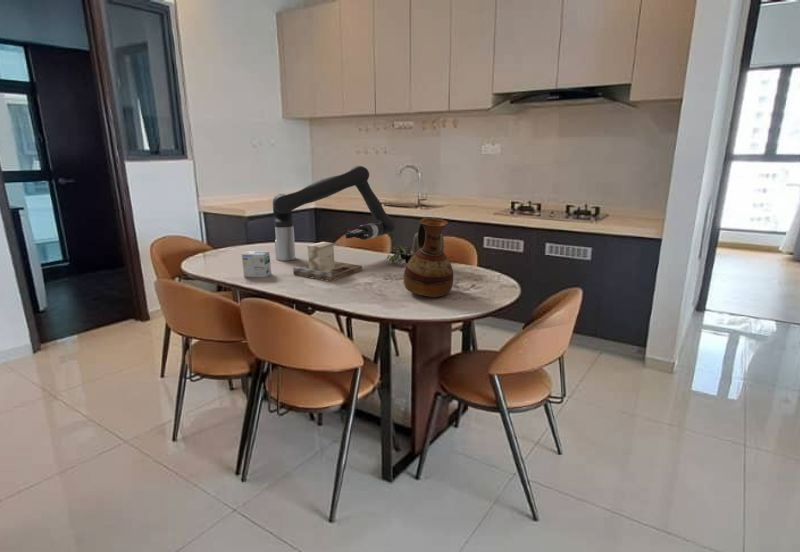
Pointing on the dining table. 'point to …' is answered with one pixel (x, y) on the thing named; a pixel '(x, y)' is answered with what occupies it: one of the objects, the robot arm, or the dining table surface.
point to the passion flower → (402, 253)
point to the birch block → (321, 256)
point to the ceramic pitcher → (429, 262)
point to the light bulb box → (256, 264)
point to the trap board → (330, 275)
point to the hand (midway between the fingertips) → (346, 236)
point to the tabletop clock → (415, 242)
